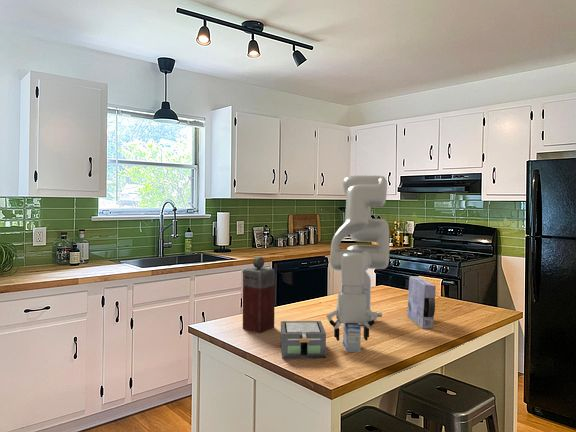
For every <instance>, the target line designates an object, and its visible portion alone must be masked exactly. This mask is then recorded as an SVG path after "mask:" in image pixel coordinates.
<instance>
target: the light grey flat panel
mask: <svg viewBox="0 0 576 432" xmlns="http://www.w3.org/2000/svg"><path fill="white" fill-rule="evenodd" d="M286 330H287V333H300V332H301V335H302V339H306V335H307V332H320V330H319V328H318V325H317V322H297V323H286Z"/></svg>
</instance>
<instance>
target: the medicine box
mask: <svg viewBox="0 0 576 432" xmlns="http://www.w3.org/2000/svg"><path fill="white" fill-rule="evenodd" d="M342 325H343V327H342V329H343V330H342V345H343V347H344V348H345V350H346V351H347V353H360V352H361V343H362V342H361V338H362V337H361V334H362V329H361V325H358V323H342Z"/></svg>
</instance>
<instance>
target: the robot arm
mask: <svg viewBox="0 0 576 432" xmlns="http://www.w3.org/2000/svg"><path fill="white" fill-rule="evenodd" d="M342 187H343V188H342V189H343V192H344V195H345V197H346V200H345V215H344V222H343V224H342V225H341V226H340V227H339V228H337V230H336V232H334V233H335V234H334V235H333V236H332V239H331V245H330V253H329V254H330V255H329V256H330V257H329V263H330V267H331V268H332V269H333V270H336V271H341V273H340V276H341V277H340V279H341V280H340V291H339V292H338V293H337V294H338V295H337V299H336V309H335V310H333V311H331V312H329V313H327V314H326V318H327V320H328V322H329V324H330V325H331V326H332V327H333V328H334V330H333V332H334V333H333V334H334V335H333V337H334V338H335V339H336V341H337V342H338V341H340V328H339V327H340V326H341V325H343V323H358V325H359V326H364V327H363V339H364V340H365V341H368V339H369V338H370V329H371V328H372V326H374V324H375V322H376V320H377V319H378V318H382V317H383V313H382V312H378V311H373V310H371V295H372V294H371V292H372V291H371V287H372V285H371V284H372V279H371V277H370V275H369V273H368V271H367V270H370V269H371V270H372V269H373V270H385V269H386V268H388V266H389V262H390V227H389V223H388V221H387V220H386V219H382V218H372V217H371V215H372V207H374V208H382V207H383V206H385V204H386V201H387V196H388V195H387V194H388V193H387V192H388V182H387V179H386V177H385V176H383V175H350V176H346V177H345V178H344V179H343V180H342ZM348 236H350V239H351V240H352V241H354V242H363V243H365V242H366V243H376V245H369V244H353V245H350V246H348V247H347V248H346V249H344V248H343V249H341V248H340V245H341V242H342V240H343V239H345V238H346V237H348ZM377 244H378V245H377ZM335 316H336V321H334V320H333V319H332V318H333V317H335Z"/></svg>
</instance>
